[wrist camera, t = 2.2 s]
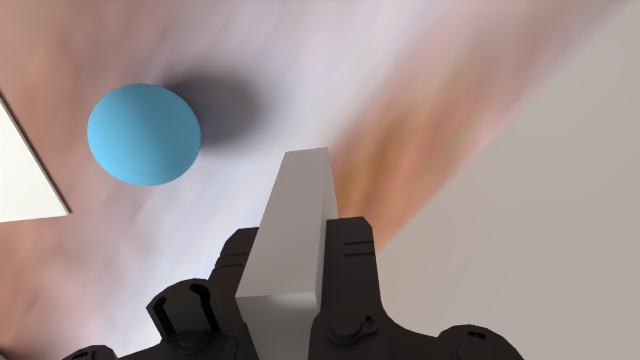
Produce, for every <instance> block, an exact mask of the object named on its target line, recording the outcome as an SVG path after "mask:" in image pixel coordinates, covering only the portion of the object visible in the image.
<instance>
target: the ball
mask: <svg viewBox="0 0 640 360" xmlns="http://www.w3.org/2000/svg"><path fill="white" fill-rule="evenodd" d="M88 141H89V145H90V149H91V151H92V153H93V155H94V157H95V158H96V160H97V161H98V163H99V164H100V165H101V166H102V167H103V168H104V169H105V170H106V171H107V172H108V173H109V174H111V175H112V176H114V177H115V178H117V179H119V180H121V181H124V182H126V183H130V184H133V185H139V186H155V185H161V184H165V183H168V182H171V181H173V180H175V179H176V178H178V177H180V176H181V175H182V174H184V173H185V172H186V171H187V170H188V169H189V168H190V167H191V165H192V164H193V163H194V161H195V159H196V157H197V155H198V152H199V149H200V143H201V132H200V127H199V123H198V120H197V118H196V116H195V114H194V112H193V111H192V109H191V108H190V106H189V105H188V104H187V103H186V102H185V101H184V100H183V99H182V98H181V97H179V96H178V95H177V94H175V93H173V92H171V91H170V90H167V89H165V88H163V87H160V86H156V85H151V84H131V85H126V86H123V87H120V88H118V89H115V90H113V91H112V92H110V93H108V94H107V95H106V96H104V97H103V98H102V99H101V100H100V101H99V102H98V104H97V105H96V106H95V108H94V110H93V112H92V114H91V116H90V119H89V123H88Z"/></svg>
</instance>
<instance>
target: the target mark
mask: <svg viewBox="0 0 640 360" xmlns="http://www.w3.org/2000/svg"><path fill="white" fill-rule="evenodd" d="M69 214H70V213H69V211H68V209H67V208H66V206H65V204H64V203H63V201H62V199H61V198H60V196H59V194H58V193H57V191H56V189H55V188H54V186H53V184H52V183H51V181H50V179H49V178H48V176H47V174H46V173H45V171H44V169H43V168H42V166H41V164H40V163H39V161H38V159H37V158H36V156H35V154H34V153H33V151H32V149H31V148H30V146H29V144H28V143H27V141H26V139H25V138H24V136H23V134H22V133H21V131H20V129H19V128H18V126H17V124H16V123H15V121H14V119H13V118H12V116H11V114H10V112H9V111H8V109H7V107H6V106H5V104H4V102H3V101H2V99H1V97H0V222H6V221H16V220H26V219H35V218H45V217H55V216H65V215H69Z"/></svg>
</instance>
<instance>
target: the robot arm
mask: <svg viewBox="0 0 640 360" xmlns="http://www.w3.org/2000/svg"><path fill="white" fill-rule="evenodd" d="M146 309H147V311H148V313H149V315H150V317H151V318H152V320H153V322H154V324H155V326H156V328H157V330H158V331H159V333H160V335H161V337H162V340H161V342H160V343H159V344H157V345H155V346H153V347H150V348H147V349H144V350H141V351H138V352H135V353H132V354H129V355H126V356H123V357H120V358H118V357H117V356H116V354H115V353H114V351H113V350H112V349H111V348H109V347H107V346H105V345H92V346H89V347H86V348H83V349H80V350H77V351H76V352H74V353H72V354H70V355H69V356H67V357H65V358H63V359H62V360H524V359H523V358H522V356H521V355H520V354H519V353H518V351H517V350H516V349H515V348H514V347H513V346H512V345H511V344H510V343H509V342H508V341H507V340H506V339H505V338H503V337H502V336H501V335H499V334H497V333H495V332H493V331H491V330H489V329H487V328H484V327H479V326H475V325H470V324H468V325H457V326H452V327H450V328H448V329H447V330H444V331H442V332H441V333H440V334H439V336H438V337H433V336H428V335H424V334H420V333H416V332H413V331H410V330H407V329H405V328H403V327H401V326H400V325H398V324H396V323H395V322H394V321H393V320H392V319H391V318H390V317H389V316H388V315H387V313H386V312H385V310H384V309H383V306H382V302H381V297H380V289H379V280H378V272H377V264H376V256H375V248H374V239H373V231H372V227H371V225H370V224H369V223H368V222H367V221H366V220H365V218H364V217H363V216H362V217H351V218H340V219H338V211H337V204H336V197H335V191H334V184H333V177H332V170H331V164H330V157H329V150H328V147H325V148H316V149H308V150H299V151H290V152H285V155H284V158H283V161H282V163H281V166H280V169H279V172H278V175H277V178H276V181H275V184H274V186H273V189H272V192H271V195H270V198H269V201H268V204H267V206H266V209H265V212H264V215H263V218H262V221H261V224H260V227H253V228H242V229H238V230H237V231H236V232H235V233H234V234H233V235H232V236H231V237H230V238H229V239H228V240H227V241H226V242H225V244H224V247H223V249H222V251H221V253H220V257H218V260H217V262H216V264H215V269H213V270H212V273H211V275H210V277H209V279H208V280H206V279H197V278H193V279H188V280H184V281H180V282H178V283H176V284H173V285H171V286H169V287H167V288H166V289H164V290H163V291H162V292H160V293H159V294H158V295H156V296H155V297H154V298H153V299H152V301H151V302H150V303H149V304H148V305H147V307H146Z"/></svg>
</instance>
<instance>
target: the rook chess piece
mask: <svg viewBox="0 0 640 360" xmlns="http://www.w3.org/2000/svg"><path fill="white" fill-rule="evenodd" d="M0 360H8V359H7V358H6V357H4V356H3V355H2V354H0Z"/></svg>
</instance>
